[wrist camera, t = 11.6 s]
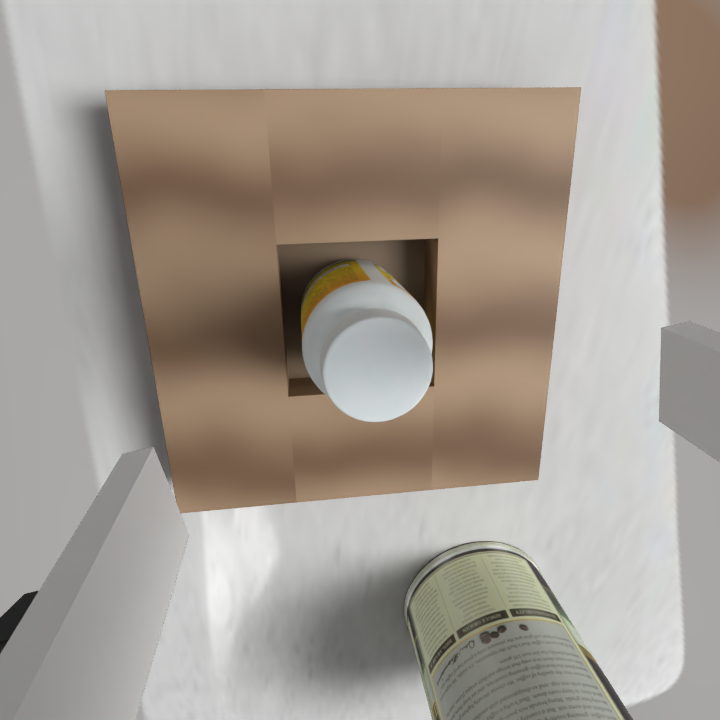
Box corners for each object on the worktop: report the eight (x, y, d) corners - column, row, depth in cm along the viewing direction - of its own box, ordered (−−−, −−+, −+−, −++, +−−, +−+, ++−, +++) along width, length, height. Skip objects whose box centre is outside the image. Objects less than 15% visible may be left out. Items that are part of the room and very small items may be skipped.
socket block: (131, 103, 23) (104, 90, 20) (544, 99, 25) (581, 87, 22) (190, 477, 30) (177, 513, 27) (513, 449, 32) (538, 479, 29)
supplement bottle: (411, 269, 26) (473, 314, 18) (386, 363, 28) (431, 449, 19) (310, 246, 25) (320, 283, 16) (290, 346, 27) (290, 428, 18)
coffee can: (571, 578, 37) (727, 804, 23) (478, 671, 39) (574, 927, 25) (468, 514, 33) (580, 731, 20) (373, 619, 35) (419, 878, 22)
